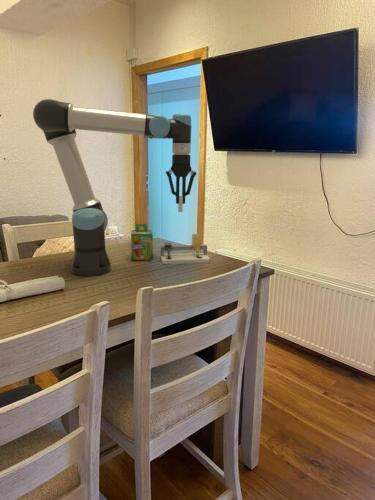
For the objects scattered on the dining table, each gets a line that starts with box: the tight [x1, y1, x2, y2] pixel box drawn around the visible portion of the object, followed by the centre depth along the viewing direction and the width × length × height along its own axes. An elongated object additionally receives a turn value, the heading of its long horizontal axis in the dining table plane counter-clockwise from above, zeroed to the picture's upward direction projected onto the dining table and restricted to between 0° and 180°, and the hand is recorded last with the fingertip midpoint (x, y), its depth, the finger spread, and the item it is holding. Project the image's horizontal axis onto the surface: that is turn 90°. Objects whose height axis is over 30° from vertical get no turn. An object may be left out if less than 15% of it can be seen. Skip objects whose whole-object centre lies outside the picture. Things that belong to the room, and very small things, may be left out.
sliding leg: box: [191, 233, 201, 257], centre depth 164 cm, size 3×8×8 cm, turn 7°
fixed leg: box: [163, 242, 173, 259], centre depth 163 cm, size 3×8×5 cm, turn 7°
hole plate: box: [160, 244, 211, 265], centre depth 163 cm, size 20×10×6 cm, turn 97°
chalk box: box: [130, 223, 154, 261], centre depth 166 cm, size 9×9×15 cm
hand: (180, 211), depth 162 cm, fingers closed
